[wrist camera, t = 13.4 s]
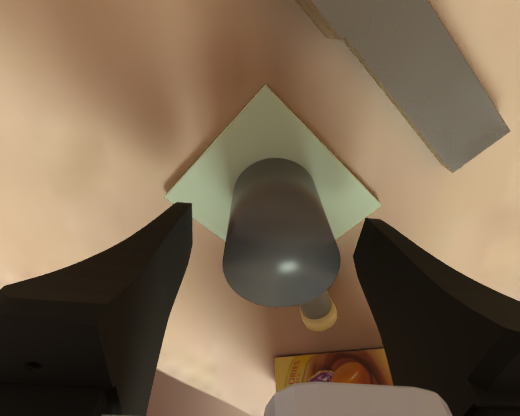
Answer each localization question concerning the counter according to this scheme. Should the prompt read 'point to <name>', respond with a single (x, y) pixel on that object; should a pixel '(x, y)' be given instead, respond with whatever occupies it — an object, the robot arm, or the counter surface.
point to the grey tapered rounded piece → (281, 242)
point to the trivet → (263, 147)
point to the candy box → (334, 368)
